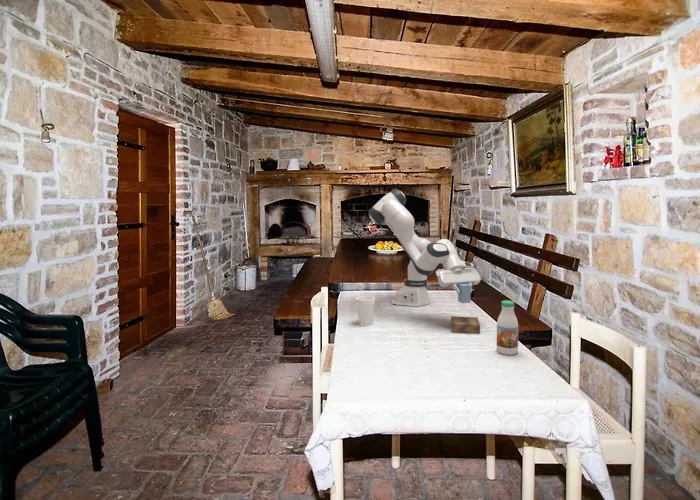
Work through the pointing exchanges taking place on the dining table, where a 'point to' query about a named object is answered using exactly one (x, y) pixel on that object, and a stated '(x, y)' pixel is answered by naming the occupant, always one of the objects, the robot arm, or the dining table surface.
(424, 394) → the dining table surface
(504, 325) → the milk bottle
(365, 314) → the foam cup
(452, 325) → the base brick
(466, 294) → the tower block
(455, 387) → the dining table surface
